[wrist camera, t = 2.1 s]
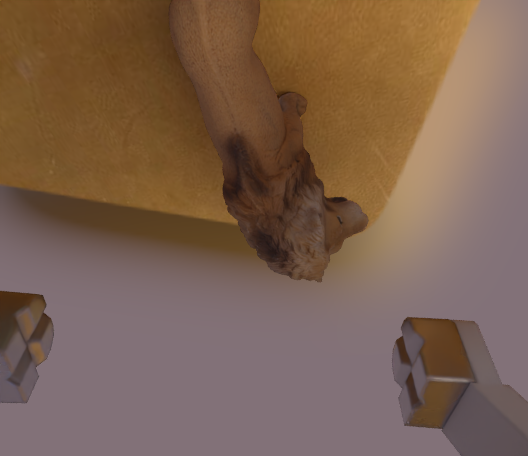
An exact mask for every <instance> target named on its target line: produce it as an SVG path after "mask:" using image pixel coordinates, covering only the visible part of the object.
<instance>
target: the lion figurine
mask: <svg viewBox="0 0 528 456" xmlns="http://www.w3.org/2000/svg"><path fill="white" fill-rule="evenodd" d="M259 13H260V2H259V0H172V1H171V3H170V7H169V25H170V32H171V38H172V41H173V44H174V46H175V49H176V51H177V54H178V56H179V59H180V61H181V64H182V66H183V68H184V70H185V71H186V73H187V74H188V76H189V77H190V79H191V81H192V84H193V86H194V88H195V91H196V94H197V97H198V101H199V104H200V108H201V111H202V115H203V118H204V122H205V125H206V128H207V130H208V133H209V135H210V137H211V140H212V142H213V144H214V146H215V148H216V150H217V152H218V155H219V156H220V158H221V160H222V162H223V175H224V178H225V180H224V183H223V197H224V200H225V203H226V205H227V206H228V207H227V210H228V212H229V213H230V214H231V215H232V216H233V217H234V218H235V219H237V220H238V225H239V226H240V230H241V232H242V233H243V234H244V236H245V238H246V241H247V242H248V244H249V245H250V247H252V248H256V250H257V255H258V256H259V257H260V258H261V259H263V260H265V261H266V262H267V264H268V267H269V268H270V269H271V270H273V271H274V272H277V273H279V274H282V275H287V276H289V277H290V278H291V279H295V280H301V279H306V280H310V281H311V280H315V281H317V282H322V276H323V274H324V270H325V269H326V267H327V265H328V263H329V261H330V255H331V254H333V253H336V252H337V251H338V250H339V249H340V248H341V246H342V243H343V241H344V239H346V238H348V237H350V236H352V235H353V234H356V233H359V232H361V231H363V230H364V229H365V228H366V226H367V224H368V217H367V215H366V214H364V213H363V212H362V210H361V208H360V206H359V205H358V204H357V203H355V202H353V201H349V200H347V199H346V198H345V197H333V198H326V197H325V196H324V186H323V183H322V181H321V180H320V179H318V178H317V176H316V174H315V169H314V165H313V163H312V162H311V160H310V155H309V153H308V152H307V151H306V150H305V148H304V147H303V126H302V122H301V119H300V117H301V115H302V114H303V113H305V111H306V106H307V100H306V99H305V98H303V97H302V96H301V95H299V94H296V93H287V94H285V95H282V96H281V97H280V98H279V100H278V97H277V95H276V93H275V91H274V89H273V87H272V85H271V83H270V80H269V77H268V75H267V72H266V70H265V68H264V66H263V64H262V63H261V61H260V60H259V58H258V57H257V55H256V54H255V52H254V50H253V48H252V41H253V38H254V35H255V32H256V29H257V25H258V19H259Z"/></svg>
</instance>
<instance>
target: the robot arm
mask: <svg viewBox="0 0 528 456" xmlns="http://www.w3.org/2000/svg"><path fill="white" fill-rule="evenodd" d="M45 308H46V302H45V300H44V297H43V295H39V294H29V293H18V292H7V291H0V402H2V403H27V402H28V400H29V397H30V395H31V393H32V390H33V388H34V386H35V384H36V382H37V380H38V377H39V376H38V373H37V370H36V367H37V366H38V365H39V364H41V363H42V362H43V361H45V360H46V359H47V357H48V355H49V352H50V350H51V346H52V341H53V336H54V332H53V331H54V330H53V323H52V320H51V318H50V317H48V316H47V315H46V314H45V313H44V310H45ZM401 330H402V334H403V336H402V337H400V338H399V339H397V340H396V342H395V345H394V348H393V355H392V367H393V374H394V379H395V381H396V382H397V383H398V384H399V385H400V386H401V388H402V391H401V393H400V396H399V403H400V408H401V412H402V417H403V421H404V425H405V426H416V427H427V428H439V429H442V432H443V433H444V434H445V435H446V437H447V438H448V439H449V441H450V442H451V443H452V444H453V445H454V447H455V448H456V450H457V451H458V452H459V453H460V455H461V456H528V402H527V401H526V400H525V399H524V398H523V397H522V396H521V395H520V394H518V393H517V392H516V391H515V390H514V389H513V388H512V387H511V386H509V385H503V384H502V382H501V380H500V378H499V375H498V373H497V370H496V368H495V366H494V363H493V361H492V358H491V356H490V353H489V351H488V349H487V346H486V344H485V341H484V339H483V336H482V334H481V332H480V329H479V327H478V325H477V324H476V323H475V322H474V321H462V320H449V319H432V318H412V317H407V318H406V319H405V320H404V322H403V324H402V327H401Z"/></svg>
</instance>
